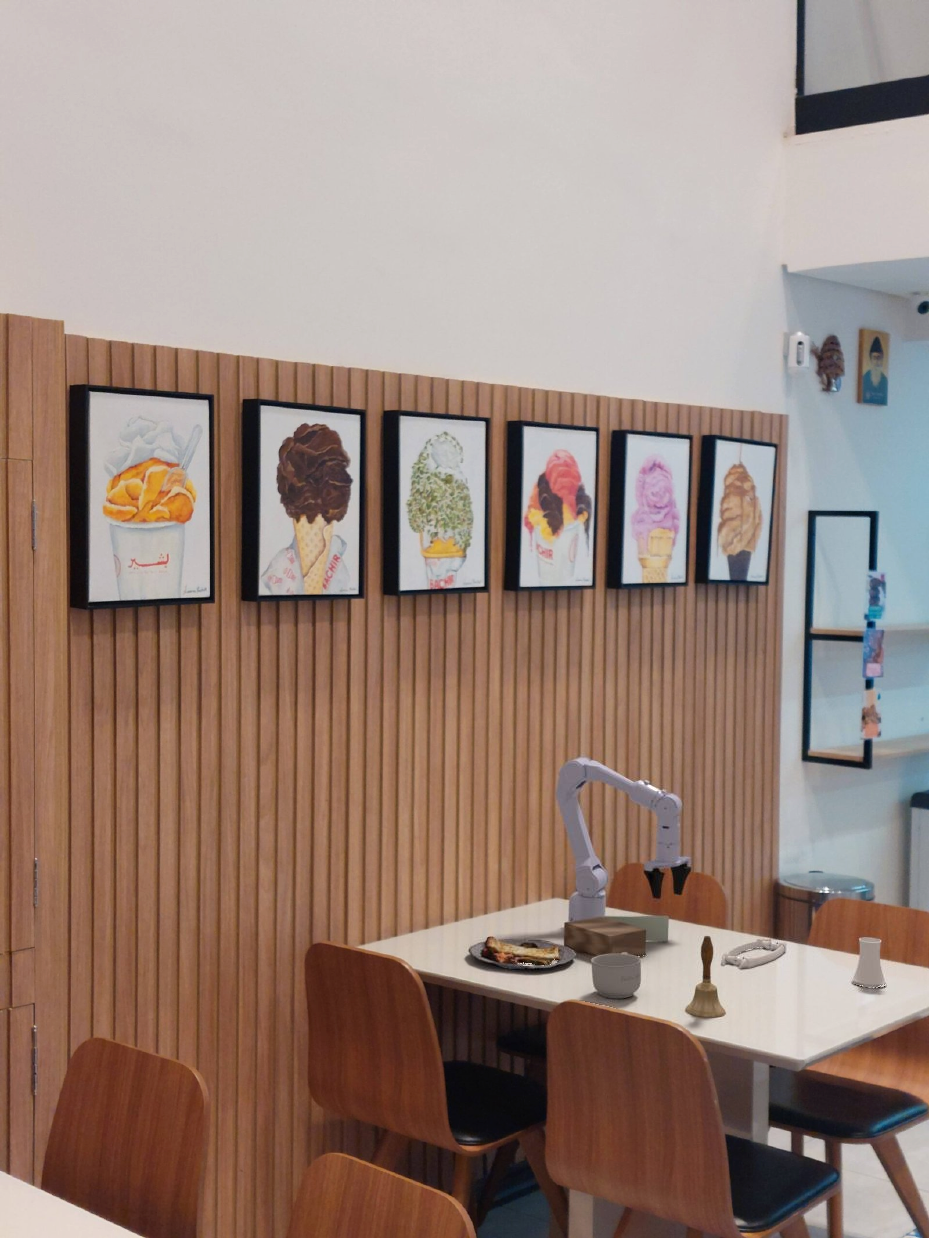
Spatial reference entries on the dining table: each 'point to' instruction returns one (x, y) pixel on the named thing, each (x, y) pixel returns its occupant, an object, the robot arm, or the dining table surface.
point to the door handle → (751, 962)
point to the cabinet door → (646, 925)
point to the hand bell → (706, 988)
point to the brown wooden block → (604, 937)
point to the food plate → (521, 953)
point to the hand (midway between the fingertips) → (667, 896)
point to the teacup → (616, 974)
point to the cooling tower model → (869, 964)
